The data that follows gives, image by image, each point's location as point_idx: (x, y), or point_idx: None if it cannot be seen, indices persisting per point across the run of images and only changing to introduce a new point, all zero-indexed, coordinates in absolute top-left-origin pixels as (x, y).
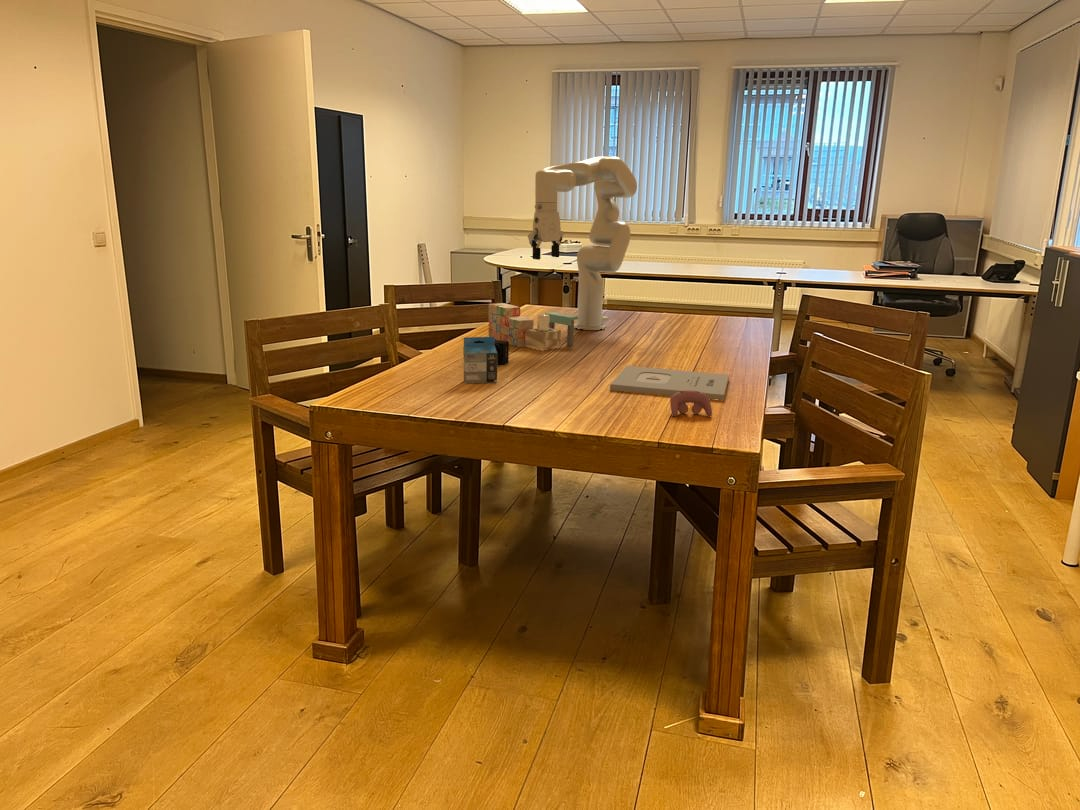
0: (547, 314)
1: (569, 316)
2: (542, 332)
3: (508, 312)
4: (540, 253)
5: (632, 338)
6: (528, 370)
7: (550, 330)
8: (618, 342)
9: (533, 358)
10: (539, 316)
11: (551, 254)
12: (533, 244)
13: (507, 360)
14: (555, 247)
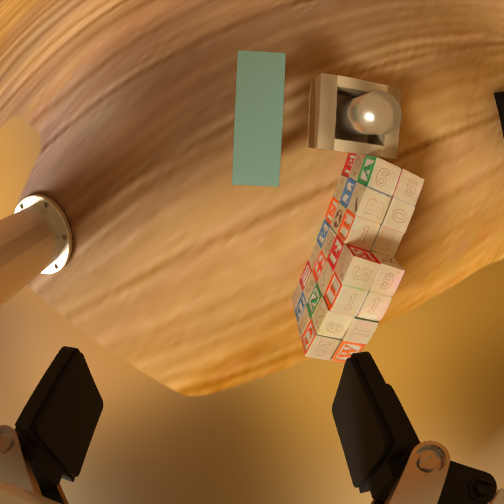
0: (279, 172)
1: (266, 70)
2: (393, 94)
3: (390, 260)
4: (368, 396)
5: (56, 69)
6: (497, 39)
7: (335, 105)
8: (120, 42)
9: (443, 70)
10: (400, 117)
11: (99, 415)
12: (468, 469)
13: (500, 92)
14: (57, 439)
